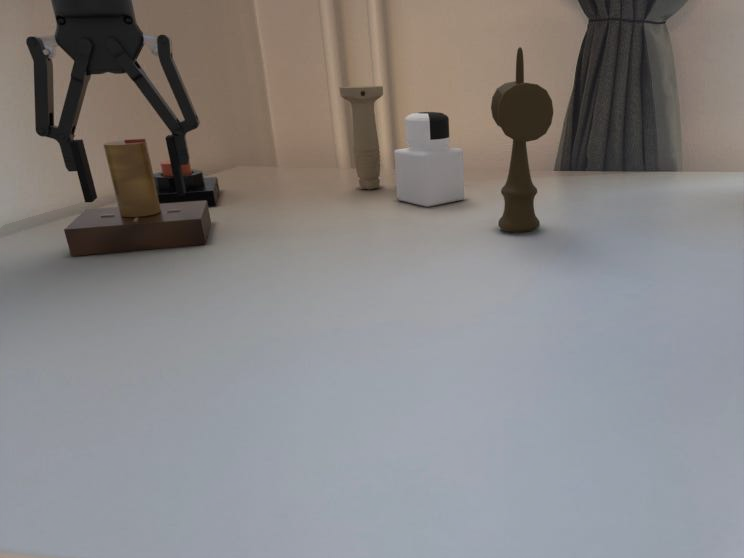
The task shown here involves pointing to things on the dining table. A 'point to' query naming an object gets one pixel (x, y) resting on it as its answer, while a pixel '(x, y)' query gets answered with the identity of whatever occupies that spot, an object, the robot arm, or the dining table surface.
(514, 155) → the kendama
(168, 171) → the release button
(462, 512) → the dining table surface
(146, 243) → the plate
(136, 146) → the yellow cylinder
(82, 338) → the dining table surface
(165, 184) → the release housing
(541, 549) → the dining table surface
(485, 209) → the dining table surface
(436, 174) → the medicine bottle
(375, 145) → the handle
